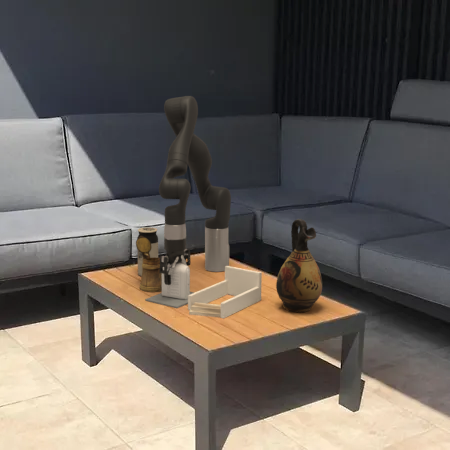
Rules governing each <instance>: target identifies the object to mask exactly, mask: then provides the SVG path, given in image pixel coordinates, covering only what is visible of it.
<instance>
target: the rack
mask: <svg viewBox="0 0 450 450" xmlns="http://www.w3.org/2000/svg"><path fill="white" fill-rule="evenodd" d="M262 276H263V274H262V271H256V270H251V269H247V268H240V267H235V266H230V265H229V266H225V271H224V280H222V281H220V282H217V283H215V284H212V285H210V286H207V287H205V288H202V289H200V290H198V291H195V292H194V293H193V294H190V295H188V304H187V310H188V311H190V310H191V306H192V305H193V304H194V303H195V302H196V303H207V304H210V303H211V302H213V301H215V300H218V299H220V298H222V297H225V296H227V295H229V296H232V297H231V298H229V299H226V300H223V301H222V302H220V305H221V319H225V318H227V317H229V316H231V315H233V314H235V313H238V312H240V311H242V310H244V309H246V308H247V307H250V306H252V305H254V304H257V303H258V302H260V301H262V281H263V280H262Z"/></svg>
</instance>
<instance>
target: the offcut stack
mask: <svg viewBox="0 0 450 450" xmlns="http://www.w3.org/2000/svg"><path fill="white" fill-rule="evenodd" d="M188 315H189V316H190V315H191V316H200V317H211V318H221V304H215V303H214V304H213V303H196V302H195V303H194V304H193V305H192V306H191V310H188ZM221 319H222V318H221Z"/></svg>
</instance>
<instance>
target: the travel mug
mask: <svg viewBox="0 0 450 450" xmlns="http://www.w3.org/2000/svg"><path fill="white" fill-rule="evenodd" d="M157 231H158V228H155V227H140V228H138V229H137V232H138V236H137V238H136V240H137V239H138V238H139V237H140V236H143V237H145V238H147V239H148V240H149V241H150V243H151V247H152V248H151V251H150V252H149V254H150V258H159V237H158V234H157ZM136 249H137V248H136ZM145 253H146V252H145ZM142 263H143V255H142V253H141V252H139V251H138V249H137V275H138V276H140V277H142Z"/></svg>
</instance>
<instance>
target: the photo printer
mask: <svg viewBox="0 0 450 450" xmlns="http://www.w3.org/2000/svg"><path fill="white" fill-rule="evenodd" d="M168 265H170V264H168ZM163 270H164V267H163ZM168 270H169V268H168V269H167V271H168ZM190 277H191V269H190V266H186V265H184V264H181V263H179V264H176V266H175V267H174V269H172V271H171V285H166V284H165V283H164V274H163V273H162V291H161V293H162V296H167V297H173V298H178V299H188V295H190V292H191V288H190V287H191V279H190Z"/></svg>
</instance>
